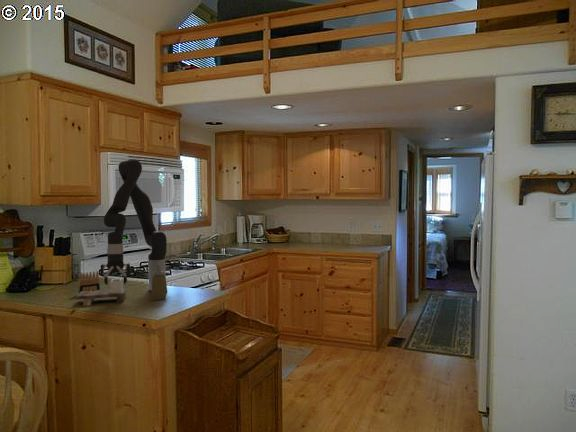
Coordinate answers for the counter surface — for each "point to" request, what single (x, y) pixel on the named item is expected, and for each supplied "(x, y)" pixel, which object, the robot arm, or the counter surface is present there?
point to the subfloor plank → (100, 296)
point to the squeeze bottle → (159, 284)
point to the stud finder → (116, 285)
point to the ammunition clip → (89, 282)
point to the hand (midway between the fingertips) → (115, 284)
